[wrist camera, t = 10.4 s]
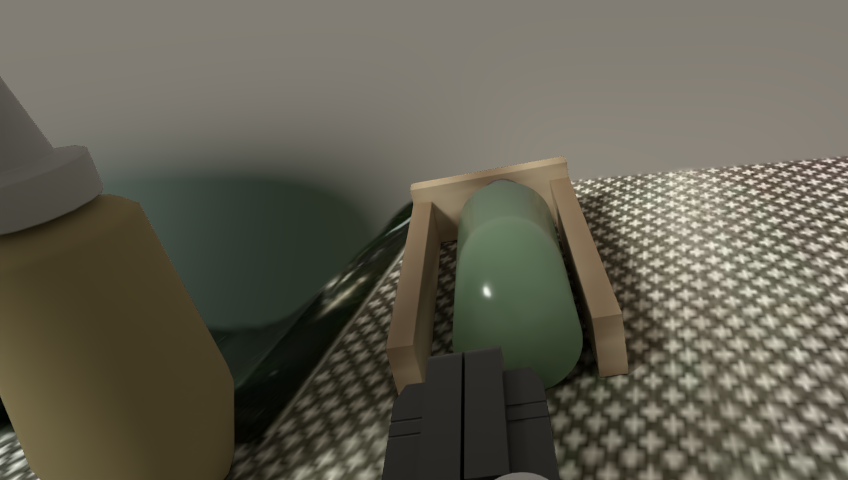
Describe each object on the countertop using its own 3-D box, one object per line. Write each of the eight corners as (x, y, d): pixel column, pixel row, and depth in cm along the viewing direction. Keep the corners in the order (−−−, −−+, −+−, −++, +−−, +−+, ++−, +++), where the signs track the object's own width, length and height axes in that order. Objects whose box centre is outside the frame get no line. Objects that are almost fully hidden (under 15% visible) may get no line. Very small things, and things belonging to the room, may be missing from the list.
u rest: (400, 404, 30) (379, 329, 29) (424, 238, 46) (411, 184, 45) (628, 373, 29) (619, 292, 27) (571, 212, 45) (564, 156, 43)
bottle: (454, 283, 27) (461, 157, 42) (450, 391, 30) (458, 236, 44) (590, 289, 27) (549, 160, 42) (575, 398, 29) (542, 240, 44)
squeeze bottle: (179, 404, 34) (18, 45, 27) (298, 436, 30) (144, 18, 23) (31, 527, 28) (-227, 108, 21) (152, 589, 24) (-120, 88, 17)
